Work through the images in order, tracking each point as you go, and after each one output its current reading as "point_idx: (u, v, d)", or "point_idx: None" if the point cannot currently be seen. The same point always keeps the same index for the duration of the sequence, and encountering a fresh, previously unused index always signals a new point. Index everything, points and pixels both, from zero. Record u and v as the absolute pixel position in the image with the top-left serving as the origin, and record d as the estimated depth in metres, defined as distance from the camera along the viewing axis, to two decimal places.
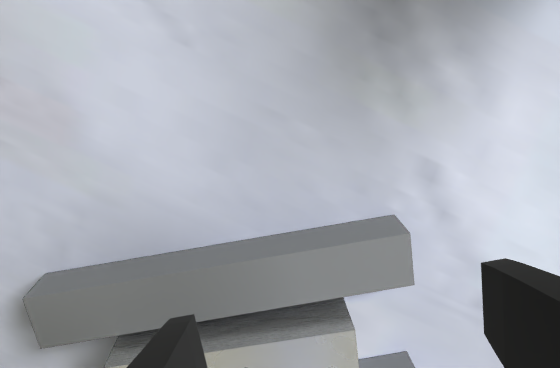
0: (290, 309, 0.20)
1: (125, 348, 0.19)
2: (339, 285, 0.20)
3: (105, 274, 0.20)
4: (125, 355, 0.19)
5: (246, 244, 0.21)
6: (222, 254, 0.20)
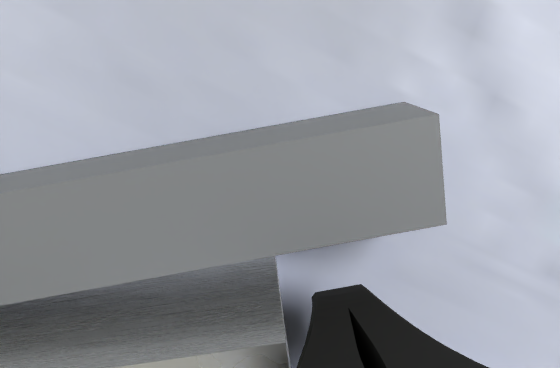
0: (173, 299, 0.11)
1: None
2: (297, 227, 0.10)
3: None
4: None
5: (125, 156, 0.11)
6: (71, 170, 0.10)
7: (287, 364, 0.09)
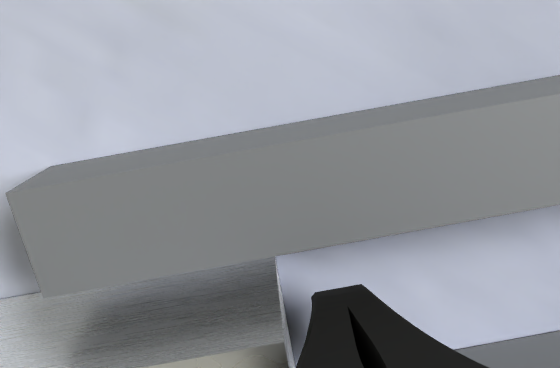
0: (173, 303, 0.11)
1: None
2: None
3: (168, 154, 0.10)
4: None
5: (428, 102, 0.11)
6: (392, 113, 0.10)
7: (287, 364, 0.09)
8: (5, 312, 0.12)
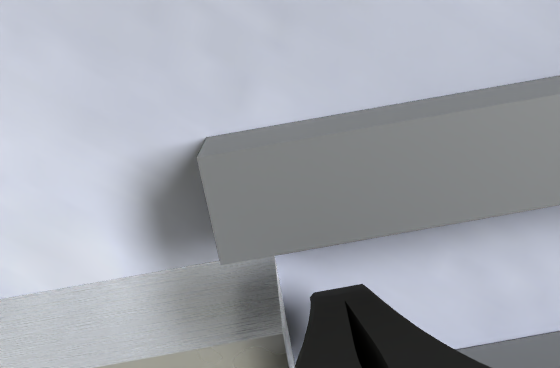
0: (175, 297, 0.11)
1: None
2: None
3: (340, 123, 0.10)
4: None
5: None
6: None
7: (285, 355, 0.09)
8: (10, 307, 0.12)
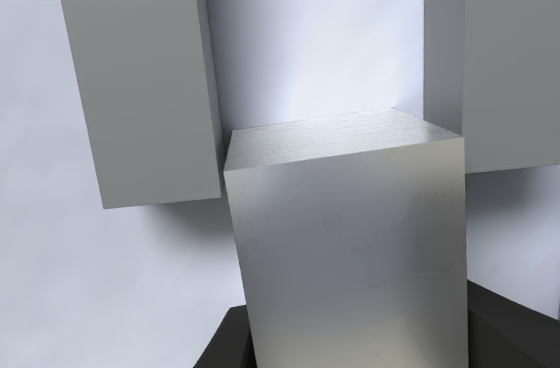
0: None
1: None
2: None
3: None
4: None
5: None
6: None
7: (254, 167, 0.08)
8: None
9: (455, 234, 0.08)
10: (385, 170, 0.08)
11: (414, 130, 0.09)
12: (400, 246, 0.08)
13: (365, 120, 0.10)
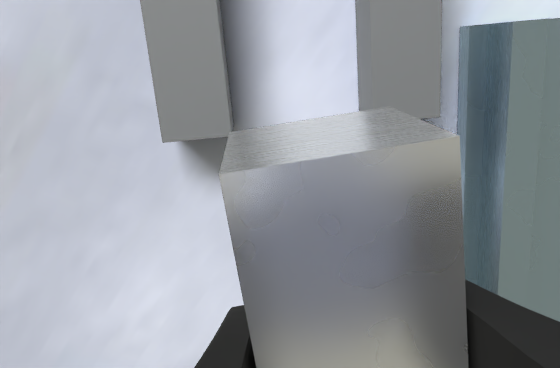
0: None
1: None
2: None
3: None
4: None
5: None
6: None
7: (249, 170, 0.08)
8: None
9: (452, 233, 0.08)
10: (381, 170, 0.08)
11: (410, 129, 0.09)
12: (397, 246, 0.08)
13: (361, 120, 0.10)
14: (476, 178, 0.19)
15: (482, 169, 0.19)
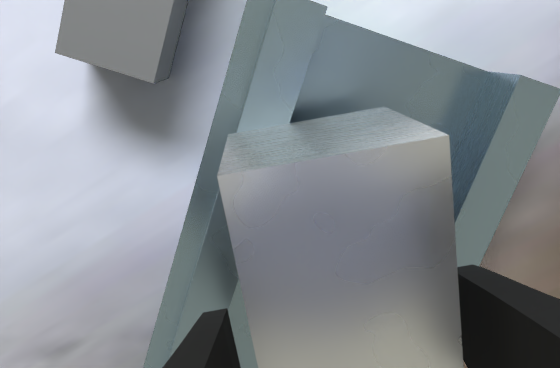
0: None
1: None
2: None
3: None
4: None
5: None
6: None
7: (246, 171, 0.08)
8: None
9: (444, 229, 0.08)
10: (373, 169, 0.08)
11: (402, 129, 0.09)
12: (391, 243, 0.08)
13: (356, 120, 0.11)
14: (209, 195, 0.14)
15: None
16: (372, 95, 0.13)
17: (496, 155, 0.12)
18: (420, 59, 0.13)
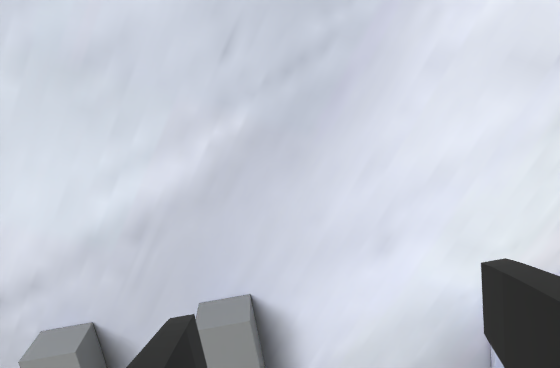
0: None
1: None
2: None
3: None
4: None
5: None
6: None
7: None
8: None
9: None
10: None
11: None
12: None
13: None
14: None
15: None
16: None
17: None
18: None
